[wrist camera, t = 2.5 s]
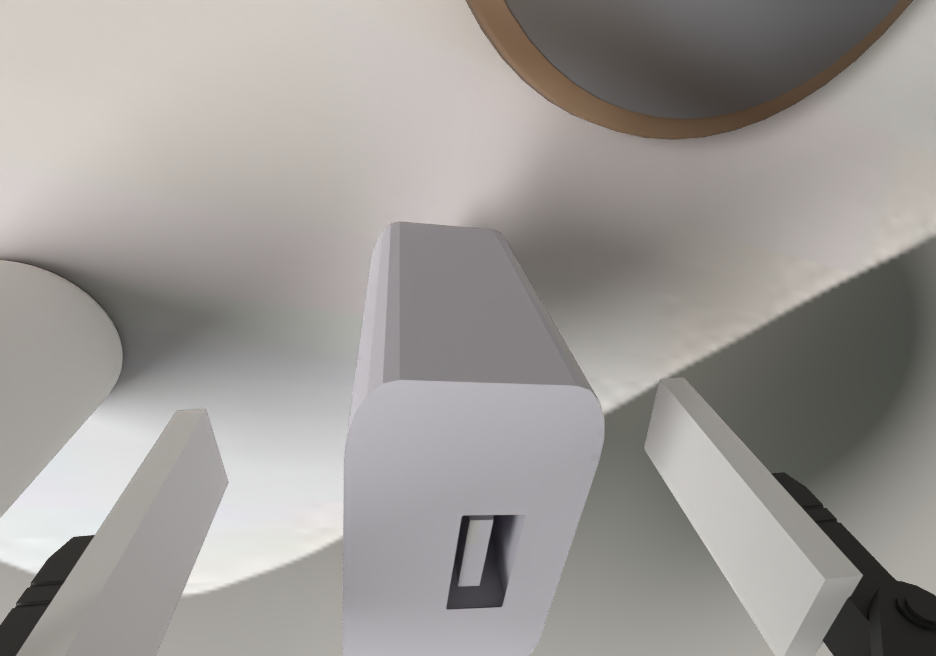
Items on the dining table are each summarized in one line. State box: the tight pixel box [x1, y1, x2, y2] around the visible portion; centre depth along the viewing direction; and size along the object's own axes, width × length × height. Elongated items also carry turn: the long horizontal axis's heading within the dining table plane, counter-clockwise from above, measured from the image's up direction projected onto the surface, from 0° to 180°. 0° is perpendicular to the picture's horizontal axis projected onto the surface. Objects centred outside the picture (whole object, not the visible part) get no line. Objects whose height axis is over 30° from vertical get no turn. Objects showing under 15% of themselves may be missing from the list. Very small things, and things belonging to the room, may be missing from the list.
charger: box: [343, 222, 604, 656], centre depth 17 cm, size 5×9×15 cm, turn 173°
